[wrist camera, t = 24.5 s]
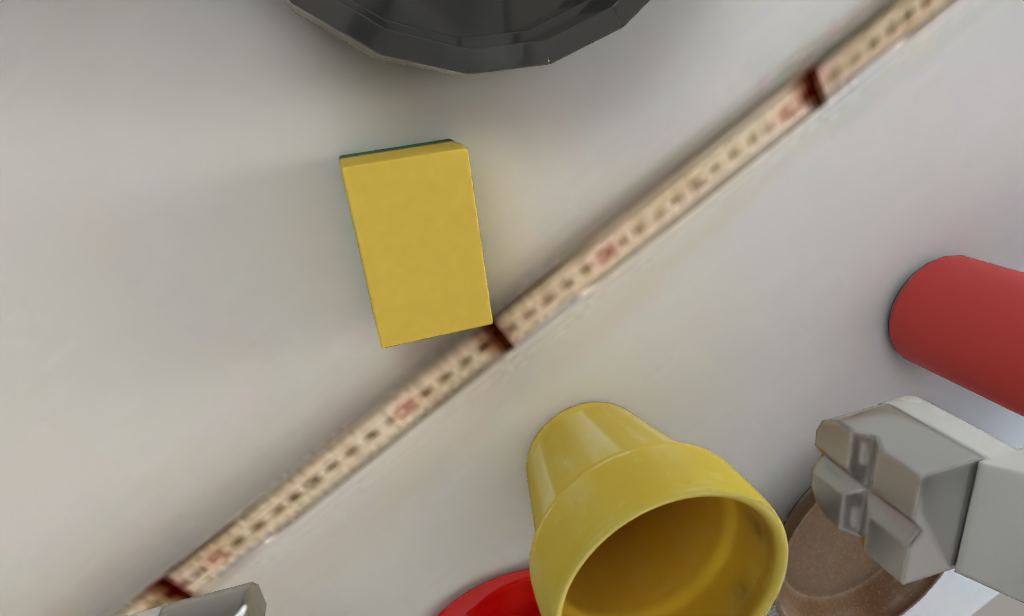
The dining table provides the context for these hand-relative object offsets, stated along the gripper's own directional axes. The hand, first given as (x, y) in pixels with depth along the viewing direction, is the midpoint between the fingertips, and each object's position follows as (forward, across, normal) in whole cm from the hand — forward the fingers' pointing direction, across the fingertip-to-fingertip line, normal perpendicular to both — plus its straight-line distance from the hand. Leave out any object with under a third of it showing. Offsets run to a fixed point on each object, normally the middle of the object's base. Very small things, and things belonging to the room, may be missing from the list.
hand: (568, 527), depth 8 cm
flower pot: (+19, -7, +14) cm, 25 cm away
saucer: (+19, -25, +25) cm, 40 cm away
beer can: (+19, -29, +10) cm, 36 cm away
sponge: (+19, 0, 0) cm, 19 cm away
